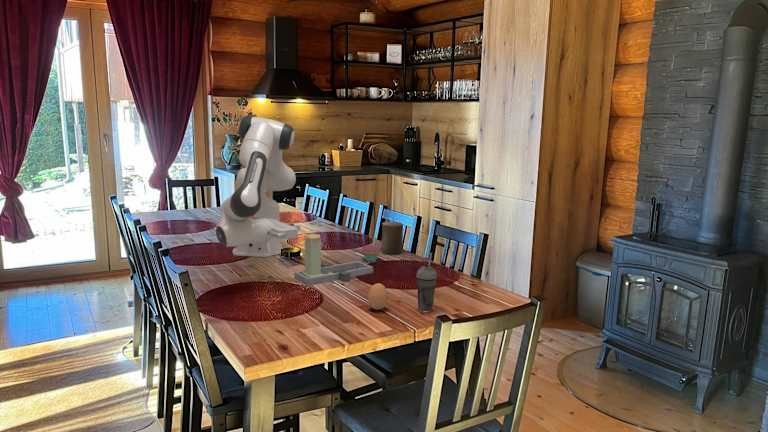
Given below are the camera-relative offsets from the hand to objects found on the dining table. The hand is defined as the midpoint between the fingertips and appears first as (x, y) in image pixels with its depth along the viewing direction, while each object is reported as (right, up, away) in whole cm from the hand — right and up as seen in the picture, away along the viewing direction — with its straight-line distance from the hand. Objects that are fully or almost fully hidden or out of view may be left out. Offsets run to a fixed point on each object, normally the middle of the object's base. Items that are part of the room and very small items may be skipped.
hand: (296, 226), depth 213 cm
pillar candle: (+36, -13, +52) cm, 65 cm away
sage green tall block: (+5, -21, +9) cm, 23 cm away
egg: (+31, -28, -21) cm, 46 cm away
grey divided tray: (+13, -20, +15) cm, 28 cm away
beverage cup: (+47, -28, -20) cm, 58 cm away
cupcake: (+27, -16, +38) cm, 49 cm away
